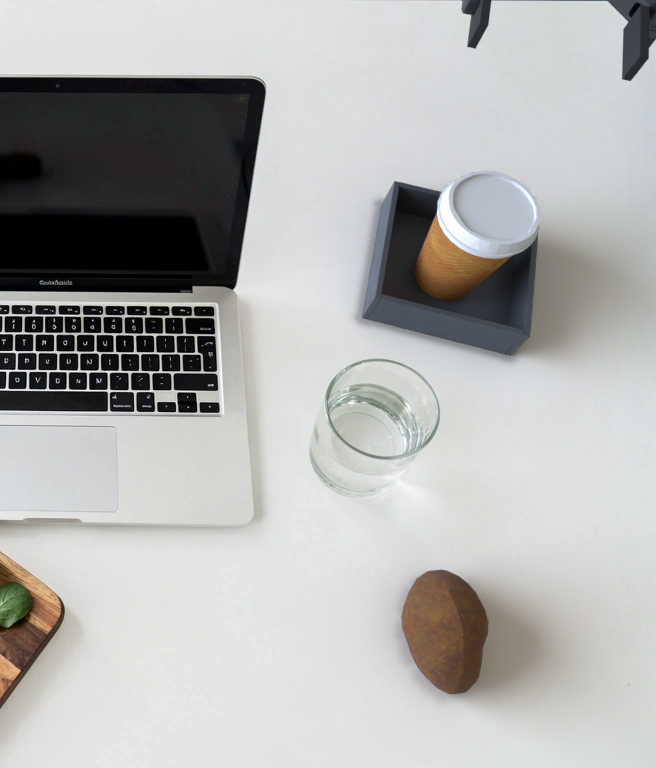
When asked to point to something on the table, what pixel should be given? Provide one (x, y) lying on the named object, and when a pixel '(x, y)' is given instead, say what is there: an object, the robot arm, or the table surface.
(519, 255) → the bin
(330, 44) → the table surface
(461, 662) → the potato
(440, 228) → the disposable coffee cup
